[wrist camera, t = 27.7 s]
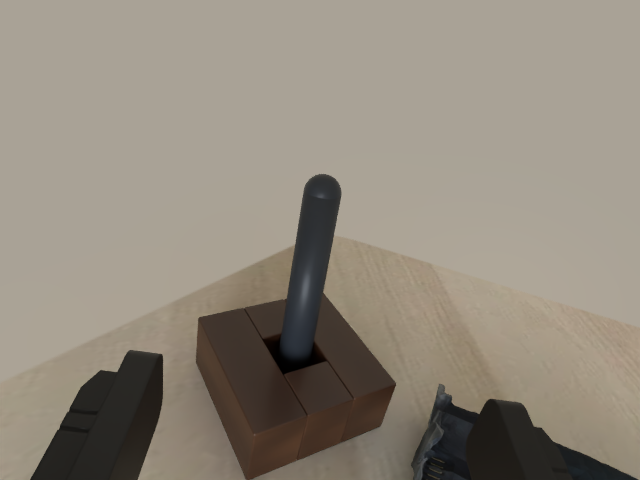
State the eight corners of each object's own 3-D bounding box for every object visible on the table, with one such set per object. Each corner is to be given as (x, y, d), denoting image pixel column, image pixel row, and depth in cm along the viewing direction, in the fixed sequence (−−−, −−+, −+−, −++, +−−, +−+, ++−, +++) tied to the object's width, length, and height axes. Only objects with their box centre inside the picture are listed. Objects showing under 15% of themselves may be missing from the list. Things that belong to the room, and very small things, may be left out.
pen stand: (246, 481, 23) (253, 435, 21) (195, 361, 28) (197, 316, 26) (381, 426, 27) (397, 383, 25) (313, 331, 32) (322, 290, 30)
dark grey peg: (280, 409, 26) (319, 180, 21) (266, 388, 27) (300, 169, 23) (309, 401, 27) (351, 180, 22) (293, 381, 28) (331, 169, 24)
